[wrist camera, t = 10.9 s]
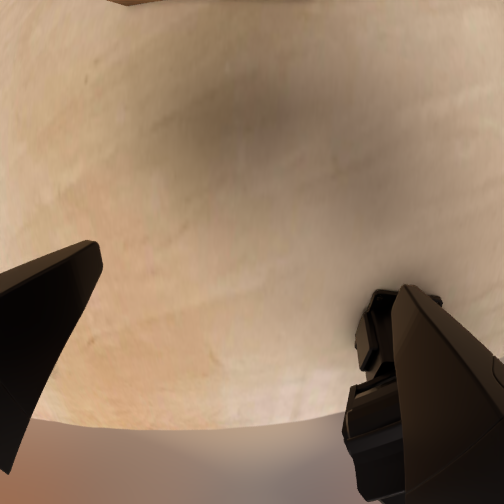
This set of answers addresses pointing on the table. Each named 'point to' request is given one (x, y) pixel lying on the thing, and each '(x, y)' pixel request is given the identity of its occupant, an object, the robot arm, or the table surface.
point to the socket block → (131, 2)
